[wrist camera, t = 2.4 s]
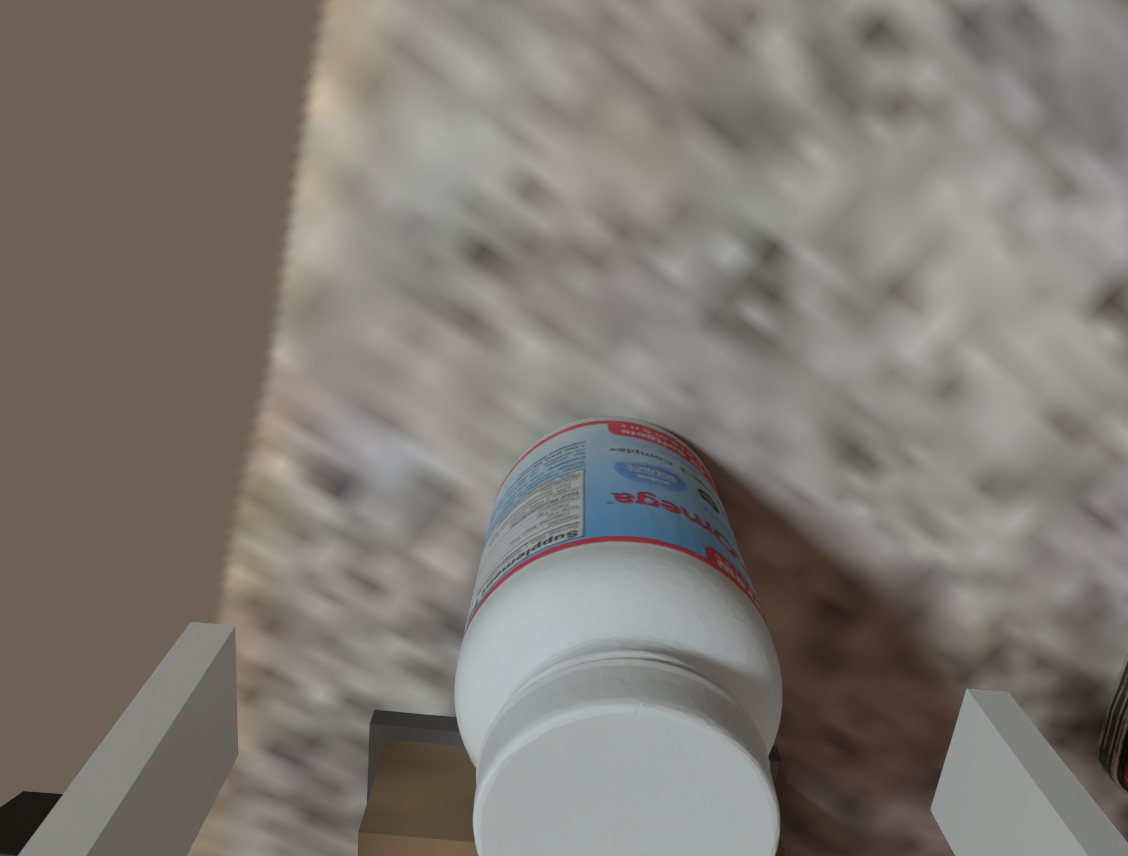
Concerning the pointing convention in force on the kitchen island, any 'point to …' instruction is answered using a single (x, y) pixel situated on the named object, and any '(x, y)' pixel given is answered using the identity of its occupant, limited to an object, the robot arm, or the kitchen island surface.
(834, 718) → the kitchen island surface
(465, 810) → the socket
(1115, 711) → the lighter
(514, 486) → the pill bottle
